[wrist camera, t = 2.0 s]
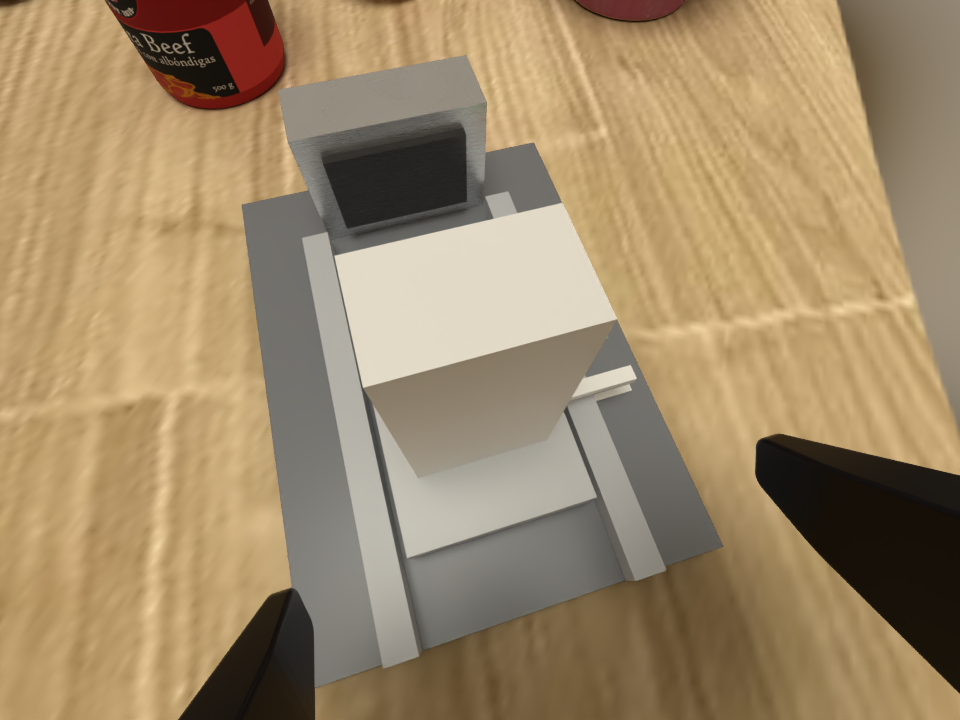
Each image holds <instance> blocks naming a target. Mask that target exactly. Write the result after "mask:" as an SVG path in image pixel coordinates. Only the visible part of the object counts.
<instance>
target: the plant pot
mask: <svg viewBox="0 0 960 720" xmlns="http://www.w3.org/2000/svg"><path fill="white" fill-rule="evenodd" d="M576 1H577V2H578V3H580V4H581V5H582V6H584V7H585V8H587V9H589V10H591V11H593V12H595V13H598V14H600V15H603V16H606V17H610V18H614V19H621V20H633V21H639V20H651V19H655V18H659V17H662V16H665V15H668V14H670V13H672V12H673V11H675V10H676V9H678V8H679V7H680V6H681V5H682V4H683V2H684V1H685V0H576Z"/></svg>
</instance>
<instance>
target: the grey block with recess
mask: <svg viewBox="0 0 960 720" xmlns="http://www.w3.org/2000/svg"><path fill="white" fill-rule="evenodd" d="M278 94H279V99H280V104H281V109H282V114H283V120H284V125H285V130H286V135H287V140H288V144H289V146H290V148H291V150H292V153H293V155H294V157H295V160H296V162H297V164H298V167H299V169H300V171H301V173H302V176H303V178H304V180H305V183H306V185H307V187H308V190H309V192H310V194H311V196H312V199H313V201H314V203H315V206H316V208H317V210H318V213H319V215H320V217H321V220H322V222H323V224H324V226H325V229H326V231H327V232H328V234H329V237H330V239H331V240H334V239H338V238H343V237H347V236H351V235H356V234H360V233H365V232H369V231H373V230H378V229H382V228H387V227H391V226H395V225H400V224H404V223H408V222H413V221H417V220H422V219H426V218H430V217H435V216H439V215H444V214H448V213H452V212H457V211H461V210H466V209H470V208H474V207H479V206H483V205H484V177H485V144H486V111H487V102H486V99H485V97H484V95H483V92H482V90H481V88H480V86H479V83H478V81H477V79H476V76H475V74H474V72H473V70H472V67H471V65H470V63H469V60H468V58H467V56H466V55H464V56H459V57H454V58H448V59H443V60H437V61H432V62H426V63H421V64H416V65H410V66H405V67H399V68H394V69H389V70H383V71H378V72H372V73H367V74H362V75H356V76H351V77H345V78H340V79H335V80H329V81H324V82H318V83H313V84H307V85H302V86H297V87H291V88H286V89H280V90H278Z"/></svg>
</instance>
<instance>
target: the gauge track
mask: <svg viewBox="0 0 960 720" xmlns="http://www.w3.org/2000/svg"><path fill="white" fill-rule="evenodd" d="M559 203H562V202H561V199H560V197H559V195H558V193H557V191H556V189H555V187H554V185H553V182H552V180H551V178H550V176H549V174H548V172H547V170H546V167H545V165H544V163H543V161H542V159H541V157H540V155H539V153H538V150H537V148H536V146H535V144H534V143H529V144H524V145H520V146H515V147H510V148H506V149H501V150H496V151H491V152H487V153H485V177H484V205H483V206H479V207H474V208H470V209H466V210H461V211H457V212H452V213H448V214H444V215H439V216H435V217H430V218H426V219H422V220H417V221H413V222H408V223H404V224H400V225H395V226H391V227H387V228H382V229H378V230H373V231H369V232H365V233H360V234H356V235H351V236H347V237H343V238H338V239H334V240H331V239H330V237H329V234H328V232H327V231H326V229H325V226H324V224H323V222H322V220H321V217H320V215H319V213H318V210H317V208H316V206H315V203H314V201H313V199H312V196H311V194H310V192H309V191H304V192H299V193H295V194H290V195H285V196H280V197H276V198H271V199H266V200H262V201H257V202H252V203H248V204H243V205H242V210H243V218H244V226H245V233H246V241H247V248H248V256H249V264H250V271H251V279H252V286H253V294H254V302H255V309H256V317H257V324H258V332H259V340H260V347H261V355H262V362H263V370H264V378H265V385H266V393H267V400H268V408H269V416H270V423H271V431H272V438H273V446H274V454H275V461H276V469H277V476H278V484H279V492H280V499H281V507H282V514H283V522H284V530H285V537H286V545H287V552H288V560H289V568H290V575H291V583H292V588H295V589H296V590H297V591H298V592H299V594H300V596H301V599H302V601H303V603H304V605H305V607H306V609H307V611H308V613H309V615H310V617H311V620H312V623H313V628H314V665H315V688H317V687H320V686H322V685H325V684H328V683H331V682H334V681H337V680H340V679H343V678H346V677H348V676H351V675H354V674H357V673H360V672H363V671H366V670H369V669H371V668H374V667H377V666H380V665H382V666H383V669H385V668H388V667H391V666H393V665H396V664H399V663H402V662H405V661H408V660H411V659H414V658H416V657H419V656H420V654H421V652H422V651H423V650H426V649H429V648H432V647H435V646H438V645H441V644H444V643H446V642H449V641H452V640H455V639H458V638H461V637H464V636H467V635H470V634H472V633H475V632H478V631H481V630H484V629H487V628H490V627H493V626H495V625H498V624H501V623H504V622H507V621H510V620H513V619H516V618H519V617H521V616H524V615H527V614H530V613H533V612H536V611H539V610H542V609H544V608H547V607H550V606H553V605H556V604H559V603H562V602H565V601H568V600H570V599H573V598H576V597H579V596H582V595H585V594H588V593H591V592H593V591H596V590H599V589H602V588H605V587H608V586H611V585H614V584H617V583H619V582H622V581H625V580H627V581H638V580H641V579H643V578H646V577H649V576H652V575H655V574H658V573H661V572H664V571H666V568H665V567H666V566H668V565H671V564H674V563H677V562H680V561H683V560H686V559H689V558H692V557H694V556H697V555H700V554H703V553H706V552H709V551H712V550H715V549H717V548H720V547H723V545H722V542H721V540H720V538H719V536H718V534H717V532H716V530H715V527H714V525H713V523H712V521H711V519H710V517H709V515H708V513H707V510H706V508H705V506H704V504H703V502H702V500H701V498H700V496H699V493H698V491H697V489H696V487H695V485H694V483H693V481H692V479H691V476H690V474H689V472H688V470H687V468H686V466H685V464H684V461H683V459H682V457H681V455H680V453H679V451H678V449H677V447H676V444H675V442H674V440H673V438H672V436H671V434H670V432H669V430H668V427H667V425H666V423H665V421H664V419H663V417H662V415H661V412H660V410H659V408H658V406H657V404H656V402H655V400H654V398H653V395H652V393H651V391H650V389H649V387H648V385H647V383H646V381H645V378H644V376H643V374H642V372H641V370H640V368H639V366H638V363H637V361H636V359H635V357H634V355H633V353H632V351H631V349H630V346H629V344H628V342H627V340H626V338H625V336H624V334H623V332H622V329H621V327H620V325H619V323H618V321H616V322H615V324H614V326H613V327H612V329H611V331H610V333H609V334H608V336H607V338H606V339H605V341H604V343H603V345H602V346H601V348H600V350H599V352H598V353H597V355H596V357H595V358H594V360H593V362H592V364H591V365H590V367H589V369H588V370H587V372H586V374H585V376H584V377H583V378H587V377H590V376H594V375H597V374H601V373H604V372H608V371H611V370H615V369H618V368H622V367H625V366H629V365H631V367H632V369H633V371H634V373H635V375H636V378H637V379H636V380H635V381H634V382H633V383H629V384H626V385H623V386H619V387H616V388H612V389H609V390H605V391H602V392H598V393H595V394H591V395H588V396H585V397H581V398H578V399H574V400H571V401H569V403H568V405H567V407H566V408H565V410H564V413H565V416H566V418H567V421H568V423H569V426H570V428H571V431H572V434H573V436H574V439H575V441H576V444H577V447H578V449H579V452H580V454H581V457H582V460H583V462H584V465H585V467H586V470H587V472H588V475H589V478H590V480H591V483H592V485H593V488H594V491H595V493H596V496H597V498H595V499H593V500H591V501H590V502H588V503H585V504H582V505H579V506H576V507H573V508H570V509H567V510H563V511H560V512H557V513H554V514H551V515H548V516H545V517H542V518H539V519H535V520H532V521H529V522H526V523H523V524H520V525H517V526H514V527H510V528H507V529H504V530H501V531H498V532H495V533H492V534H489V535H486V536H482V537H479V538H476V539H473V540H470V541H467V542H464V543H461V544H457V545H454V546H451V547H448V548H445V549H442V550H439V551H436V552H432V553H429V554H426V555H423V556H420V557H417V558H414V559H410V558H407V555H406V551H405V546H404V542H403V537H402V533H401V528H400V524H399V519H398V515H397V510H396V506H395V501H394V497H393V492H392V488H391V484H390V479H389V475H388V470H387V466H386V461H385V457H384V452H383V448H382V443H381V439H380V434H379V430H378V425H377V421H376V416H375V412H374V407H373V403H372V402H371V400H370V398H369V397H368V395H367V394H366V392H365V390H364V389H363V386H362V381H361V376H360V372H359V367H358V363H357V358H356V353H355V349H354V344H353V339H352V335H351V330H350V326H349V321H348V316H347V312H346V307H345V303H344V298H343V293H342V289H341V284H340V280H339V275H338V270H337V266H336V261H335V257H334V256H336V255H340V254H344V253H348V252H353V251H357V250H361V249H366V248H370V247H374V246H379V245H383V244H387V243H392V242H396V241H400V240H404V239H409V238H413V237H417V236H422V235H426V234H430V233H435V232H439V231H443V230H448V229H452V228H456V227H460V226H465V225H469V224H473V223H478V222H482V221H486V220H491V219H495V218H499V217H503V216H508V215H512V214H516V213H521V212H525V211H529V210H534V209H538V208H542V207H547V206H551V205H555V204H559Z"/></svg>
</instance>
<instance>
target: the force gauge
mask: <svg viewBox="0 0 960 720" xmlns="http://www.w3.org/2000/svg"><path fill="white" fill-rule="evenodd" d="M334 257H335V261H336V266H337V270H338V275H339V280H340V284H341V289H342V293H343V298H344V303H345V307H346V312H347V316H348V321H349V326H350V330H351V335H352V339H353V344H354V349H355V353H356V358H357V363H358V367H359V372H360V376H361V381H362V386H363V389H364V390H365V392H366V394H367V395H368V397H369V398H370V400H371V402H372V403H373V407H374V412H375V416H376V421H377V425H378V430H379V434H380V439H381V443H382V448H383V452H384V457H385V461H386V466H387V470H388V475H389V479H390V484H391V488H392V492H393V497H394V501H395V506H396V510H397V515H398V519H399V524H400V528H401V533H402V537H403V542H404V546H405V551H406V555H407V558H410V559H414V558H417V557H420V556H423V555H426V554H429V553H432V552H436V551H439V550H442V549H445V548H448V547H451V546H454V545H457V544H461V543H464V542H467V541H470V540H473V539H476V538H479V537H482V536H486V535H489V534H492V533H495V532H498V531H501V530H504V529H507V528H510V527H514V526H517V525H520V524H523V523H526V522H529V521H532V520H535V519H539V518H542V517H545V516H548V515H551V514H554V513H557V512H560V511H563V510H567V509H570V508H573V507H576V506H579V505H582V504H585V503H588V502H590V501H591V500H593V499H595V498H597V496H596V493H595V491H594V488H593V485H592V483H591V480H590V478H589V475H588V472H587V470H586V467H585V465H584V462H583V460H582V457H581V454H580V452H579V449H578V447H577V444H576V441H575V439H574V436H573V434H572V431H571V428H570V426H569V423H568V421H567V418H566V416H565V413H564V410H565V408H566V407H567V405H568V403H569V401H571V400H574V399H578V398H581V397H585V396H588V395H591V394H595V393H598V392H602V391H605V390H609V389H612V388H616V387H619V386H623V385H626V384H629V383H633V382H634V381H635V380H636V379H637V378H636V375H635V373H634V371H633V369H632V367H631V365H629V366H625V367H622V368H618V369H615V370H611V371H608V372H604V373H601V374H597V375H594V376H590V377H587V378H583V377H584V376H585V374H586V372H587V370H588V369H589V367H590V365H591V364H592V362H593V360H594V358H595V357H596V355H597V353H598V352H599V350H600V348H601V346H602V345H603V343H604V341H605V339H606V338H607V336H608V334H609V333H610V331H611V329H612V327H613V326H614V324H615V322H616V321H617V317H616V315H615V313H614V311H613V309H612V307H611V305H610V303H609V300H608V298H607V296H606V294H605V292H604V290H603V288H602V286H601V283H600V281H599V279H598V277H597V275H596V273H595V271H594V269H593V266H592V264H591V262H590V260H589V258H588V256H587V254H586V251H585V249H584V247H583V245H582V243H581V241H580V239H579V237H578V234H577V232H576V230H575V228H574V226H573V224H572V222H571V220H570V217H569V215H568V213H567V211H566V209H565V207H564V205H563V203H559V204H555V205H551V206H547V207H542V208H538V209H534V210H529V211H525V212H521V213H516V214H512V215H508V216H503V217H499V218H495V219H491V220H486V221H482V222H478V223H473V224H469V225H465V226H460V227H456V228H452V229H448V230H443V231H439V232H435V233H430V234H426V235H422V236H417V237H413V238H409V239H404V240H400V241H396V242H392V243H387V244H383V245H379V246H374V247H370V248H366V249H361V250H357V251H353V252H348V253H344V254H340V255H336V256H334Z"/></svg>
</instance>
